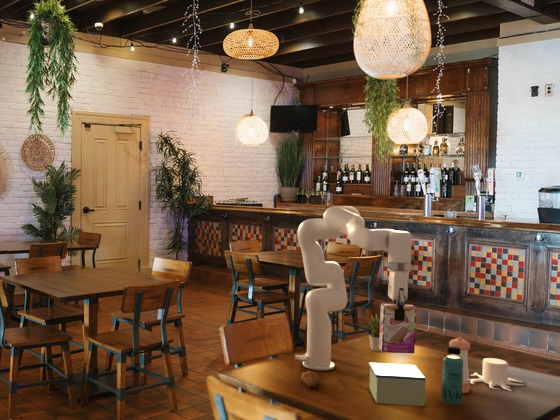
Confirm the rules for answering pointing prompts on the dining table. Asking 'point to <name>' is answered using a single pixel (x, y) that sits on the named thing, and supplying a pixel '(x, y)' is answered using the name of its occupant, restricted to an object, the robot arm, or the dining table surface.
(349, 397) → the dining table surface
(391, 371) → the container lid
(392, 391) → the container
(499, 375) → the tree stump
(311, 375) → the croissant
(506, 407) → the dining table surface
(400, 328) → the candy bar box
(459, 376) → the beverage bottle
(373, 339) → the house plant
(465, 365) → the pepper shaker
